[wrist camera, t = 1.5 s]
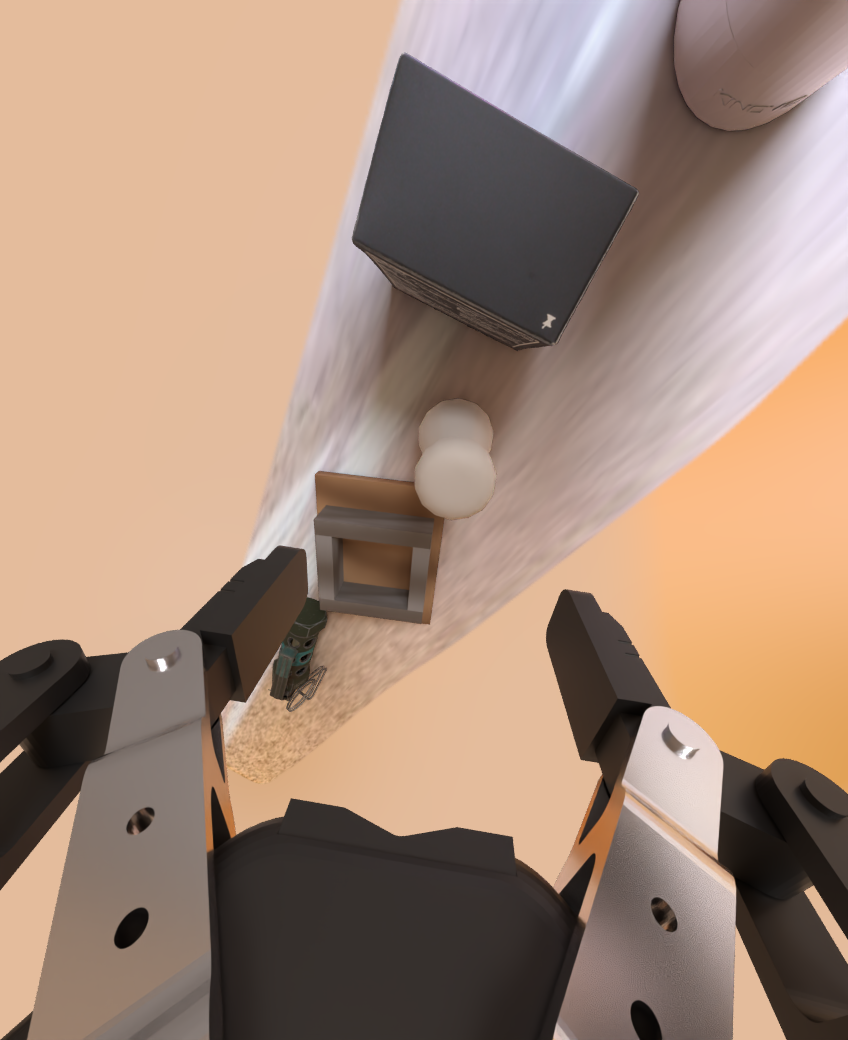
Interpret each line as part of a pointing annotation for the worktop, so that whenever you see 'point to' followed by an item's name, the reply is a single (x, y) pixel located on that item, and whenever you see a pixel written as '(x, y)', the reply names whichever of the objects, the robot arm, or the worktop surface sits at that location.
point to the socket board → (375, 548)
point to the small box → (484, 211)
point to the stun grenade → (298, 655)
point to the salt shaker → (455, 460)
